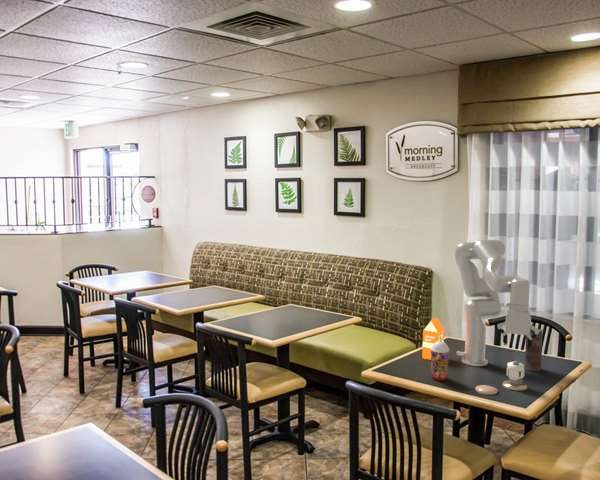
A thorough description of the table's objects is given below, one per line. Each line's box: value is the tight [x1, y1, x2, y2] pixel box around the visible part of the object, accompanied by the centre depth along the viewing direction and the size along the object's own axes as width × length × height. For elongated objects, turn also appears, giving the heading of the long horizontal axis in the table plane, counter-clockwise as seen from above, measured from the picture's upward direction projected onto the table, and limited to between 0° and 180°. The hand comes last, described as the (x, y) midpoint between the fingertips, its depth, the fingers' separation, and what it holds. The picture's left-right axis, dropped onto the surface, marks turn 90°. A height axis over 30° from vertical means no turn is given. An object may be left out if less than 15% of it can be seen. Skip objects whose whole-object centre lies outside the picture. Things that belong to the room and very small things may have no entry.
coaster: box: [475, 384, 499, 396], centre depth 239 cm, size 9×9×1 cm
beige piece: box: [502, 372, 528, 392], centre depth 244 cm, size 10×10×8 cm
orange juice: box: [421, 317, 445, 361], centre depth 283 cm, size 8×9×20 cm
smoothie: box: [430, 335, 451, 381], centre depth 252 cm, size 8×8×20 cm
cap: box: [506, 360, 526, 379], centre depth 243 cm, size 7×7×6 cm
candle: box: [524, 328, 543, 372], centre depth 266 cm, size 8×7×20 cm
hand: (517, 346), depth 242 cm, fingers open, 9 cm apart
